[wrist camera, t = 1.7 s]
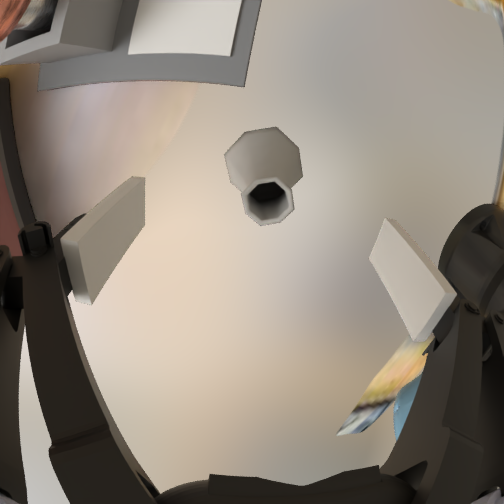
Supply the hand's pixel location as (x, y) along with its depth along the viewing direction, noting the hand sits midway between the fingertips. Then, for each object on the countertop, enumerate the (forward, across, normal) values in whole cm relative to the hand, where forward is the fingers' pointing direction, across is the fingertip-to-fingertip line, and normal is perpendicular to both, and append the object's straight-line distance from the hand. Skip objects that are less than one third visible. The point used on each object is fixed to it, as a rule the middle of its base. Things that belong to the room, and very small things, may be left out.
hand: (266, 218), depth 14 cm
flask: (+13, 0, 0) cm, 13 cm away
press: (+13, +14, -14) cm, 23 cm away
